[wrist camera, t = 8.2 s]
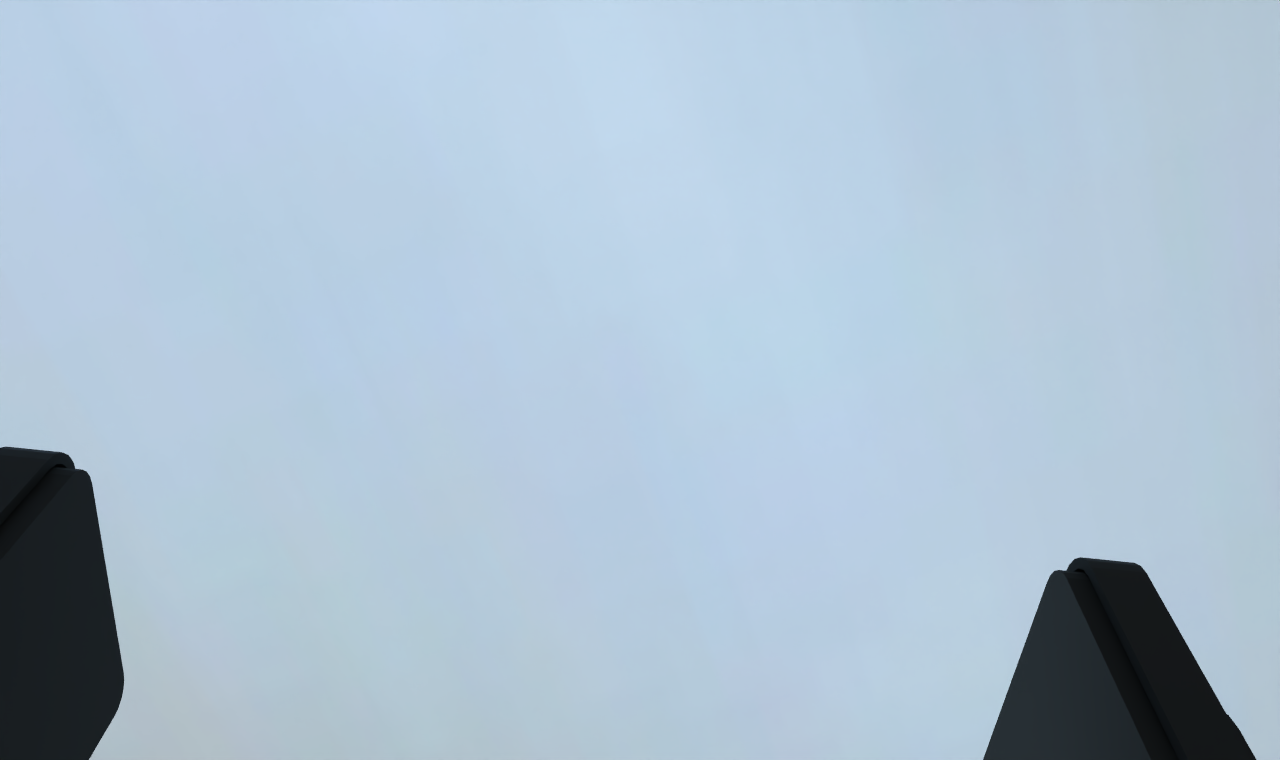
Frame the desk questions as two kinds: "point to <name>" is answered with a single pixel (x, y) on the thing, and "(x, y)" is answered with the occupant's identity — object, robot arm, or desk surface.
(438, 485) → the desk surface
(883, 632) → the desk surface
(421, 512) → the desk surface
